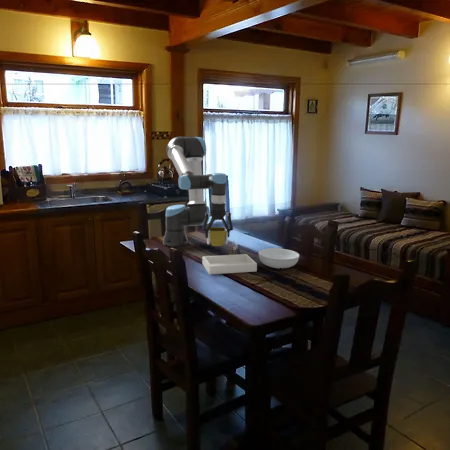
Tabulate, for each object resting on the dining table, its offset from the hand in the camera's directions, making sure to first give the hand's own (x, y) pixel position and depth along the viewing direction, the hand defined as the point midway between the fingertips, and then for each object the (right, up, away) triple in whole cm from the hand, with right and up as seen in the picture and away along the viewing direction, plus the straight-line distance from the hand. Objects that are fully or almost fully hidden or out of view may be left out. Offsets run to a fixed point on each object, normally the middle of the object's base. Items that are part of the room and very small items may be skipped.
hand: (217, 243), depth 231 cm
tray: (+6, -12, -14) cm, 19 cm away
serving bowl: (+32, -12, -10) cm, 35 cm away
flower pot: (0, -1, 0) cm, 1 cm away
